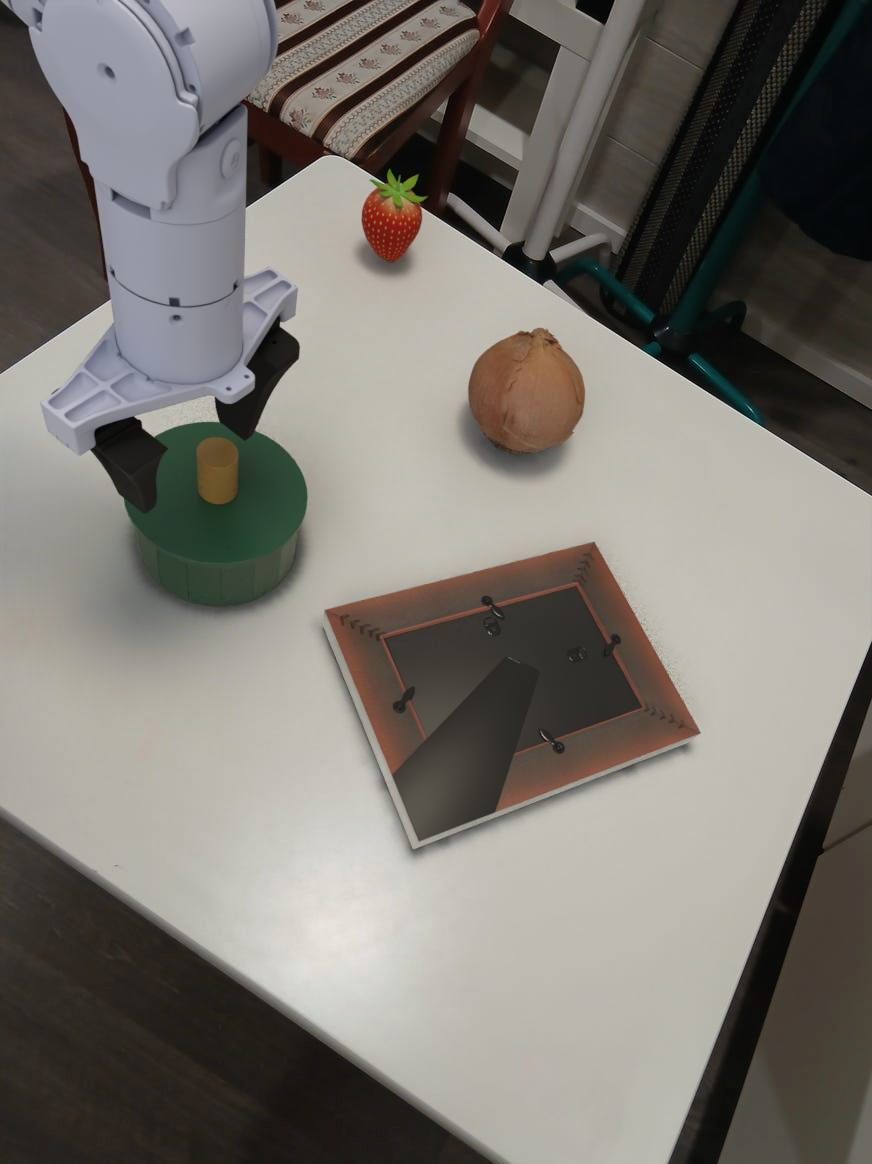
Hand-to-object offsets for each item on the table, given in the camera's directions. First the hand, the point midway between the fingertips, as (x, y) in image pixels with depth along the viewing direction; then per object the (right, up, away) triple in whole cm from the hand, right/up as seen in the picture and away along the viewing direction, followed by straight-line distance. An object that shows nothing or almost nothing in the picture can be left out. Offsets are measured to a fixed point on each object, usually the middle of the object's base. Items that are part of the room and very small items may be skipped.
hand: (188, 462), depth 48 cm
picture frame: (+19, -13, +11) cm, 26 cm away
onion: (+19, +7, +23) cm, 31 cm away
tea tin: (-1, -3, +10) cm, 11 cm away
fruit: (+8, +25, +29) cm, 39 cm away
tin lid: (0, -1, +6) cm, 6 cm away
